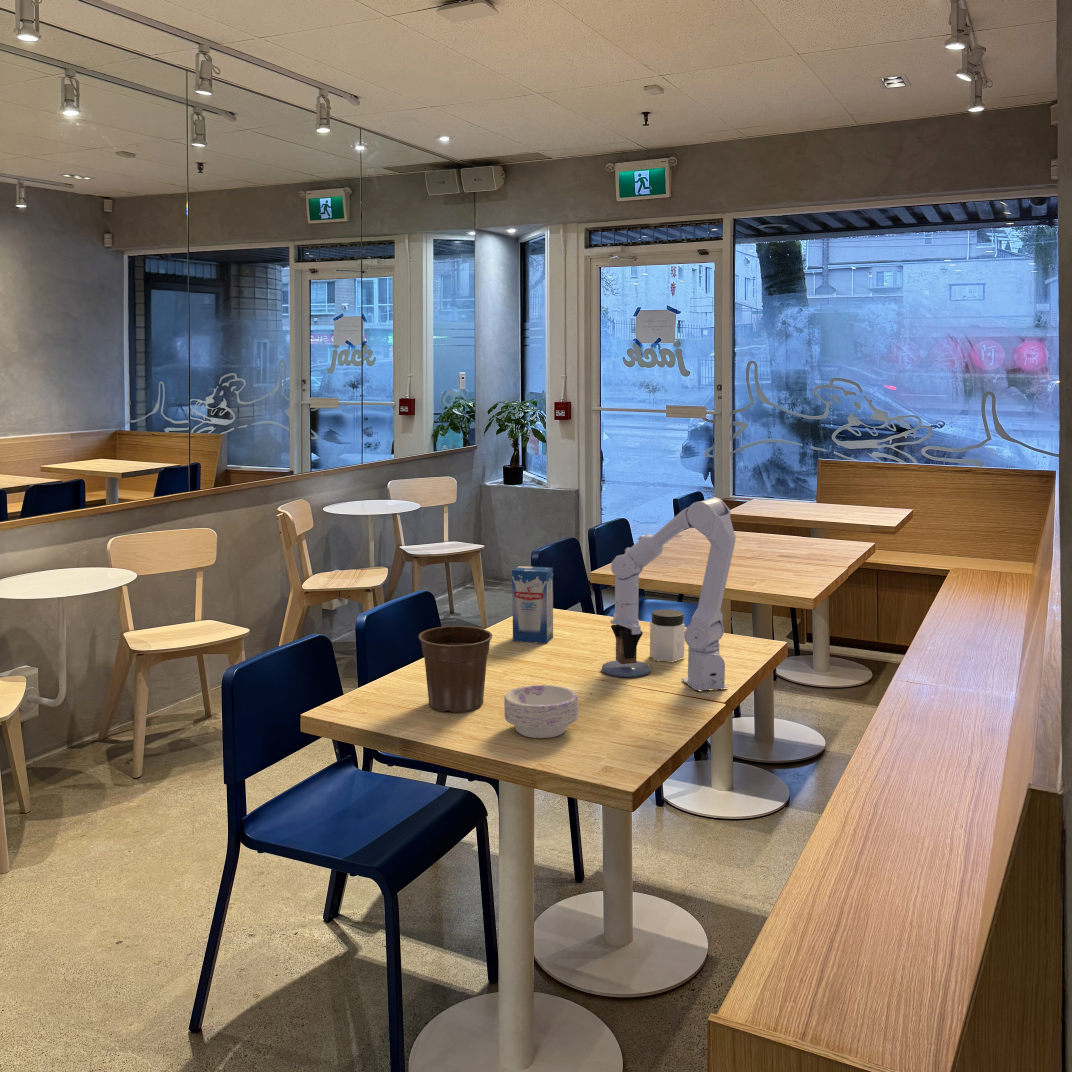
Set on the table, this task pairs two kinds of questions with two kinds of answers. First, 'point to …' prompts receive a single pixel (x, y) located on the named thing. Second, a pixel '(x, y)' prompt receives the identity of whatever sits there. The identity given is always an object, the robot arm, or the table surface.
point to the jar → (667, 635)
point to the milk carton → (532, 604)
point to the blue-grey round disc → (626, 669)
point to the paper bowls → (541, 710)
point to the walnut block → (620, 653)
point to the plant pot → (455, 666)
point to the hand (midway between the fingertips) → (626, 655)
